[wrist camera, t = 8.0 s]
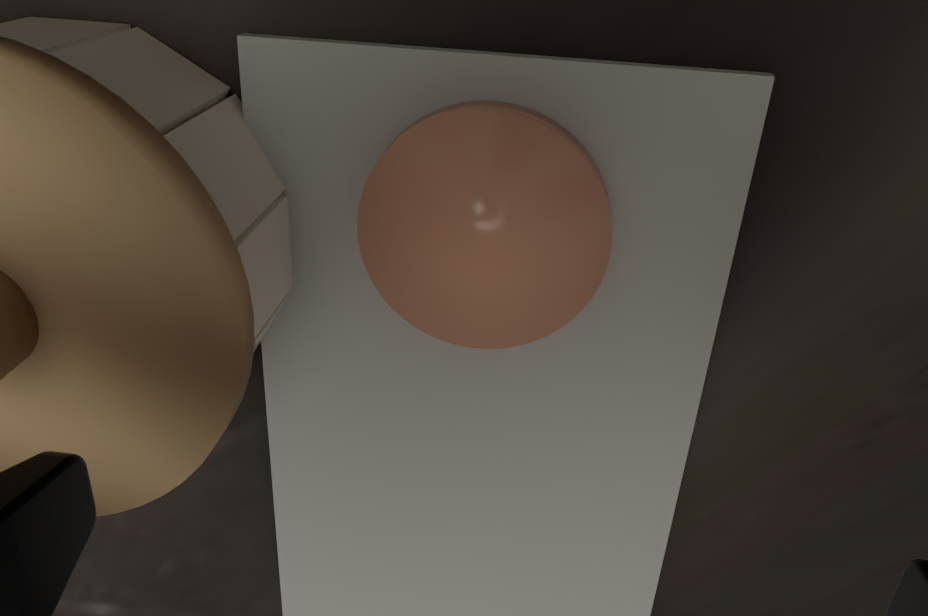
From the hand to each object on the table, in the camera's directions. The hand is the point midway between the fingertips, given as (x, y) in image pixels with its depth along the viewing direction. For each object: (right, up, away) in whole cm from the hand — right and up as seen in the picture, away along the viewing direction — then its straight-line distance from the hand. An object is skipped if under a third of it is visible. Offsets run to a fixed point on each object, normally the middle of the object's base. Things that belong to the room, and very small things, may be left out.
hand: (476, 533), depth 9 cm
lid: (-10, +3, +8) cm, 13 cm away
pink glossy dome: (0, +5, +11) cm, 12 cm away
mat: (0, -1, +14) cm, 14 cm away
